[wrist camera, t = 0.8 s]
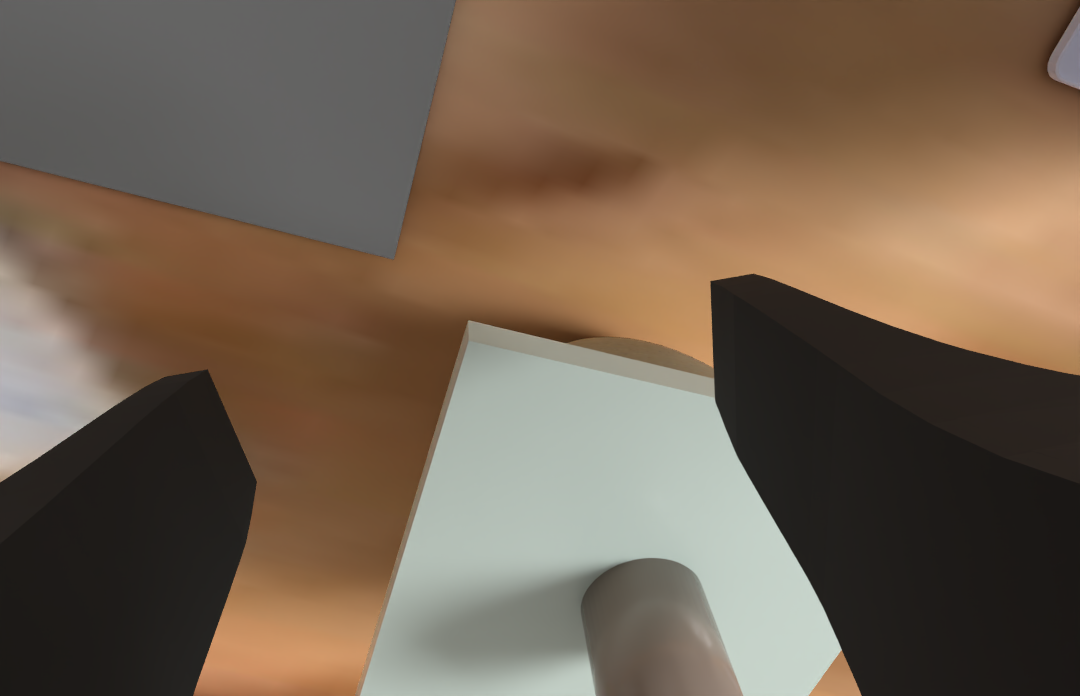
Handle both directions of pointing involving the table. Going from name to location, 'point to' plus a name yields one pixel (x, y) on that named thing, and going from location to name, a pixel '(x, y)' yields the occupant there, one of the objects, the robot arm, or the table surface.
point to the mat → (230, 105)
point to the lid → (589, 542)
